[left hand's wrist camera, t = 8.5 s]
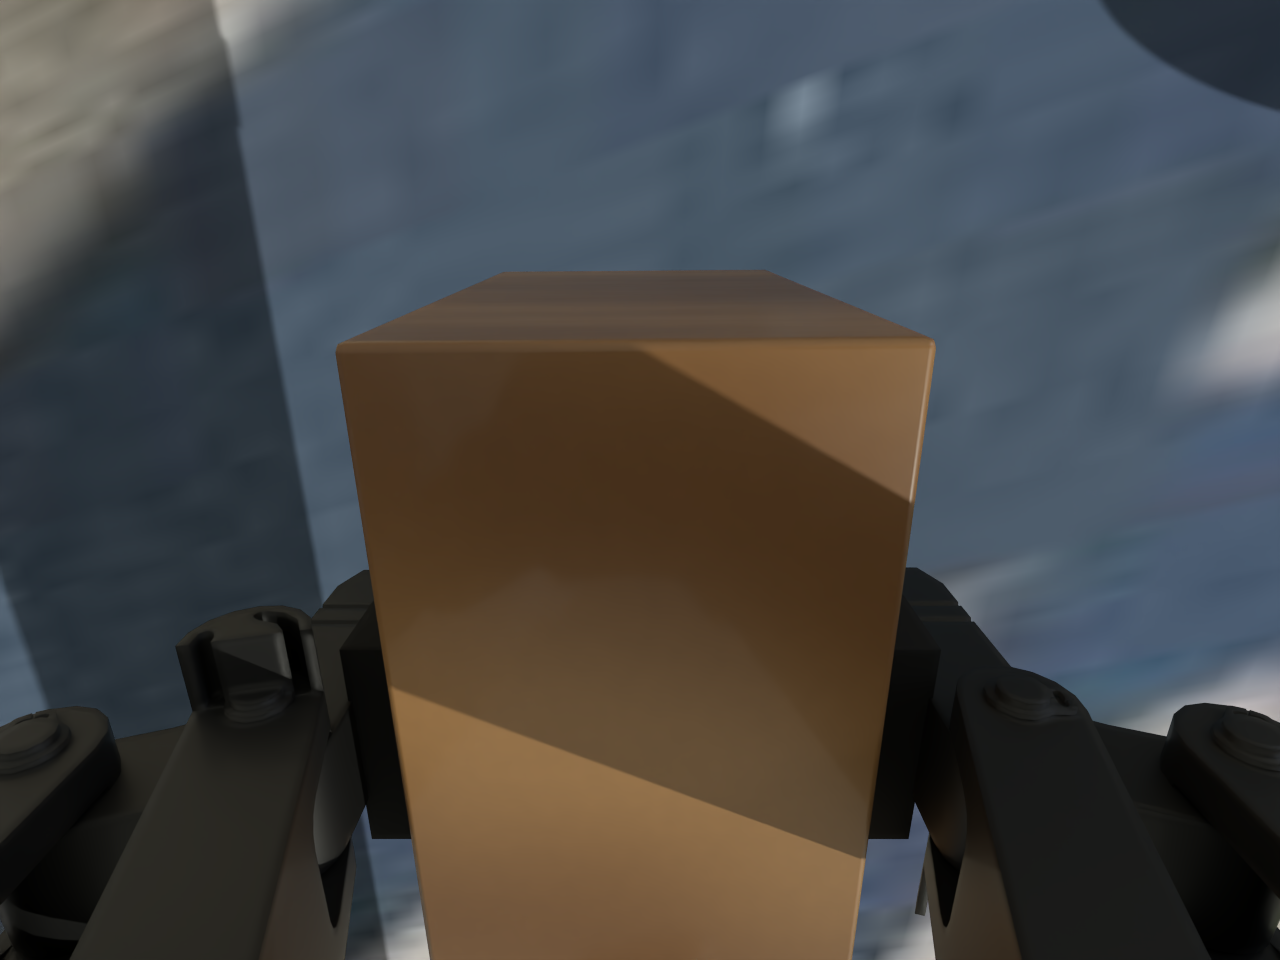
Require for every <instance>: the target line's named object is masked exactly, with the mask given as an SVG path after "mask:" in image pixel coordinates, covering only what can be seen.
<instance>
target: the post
mask: <svg viewBox="0 0 1280 960" xmlns="http://www.w3.org/2000/svg"><path fill="white" fill-rule="evenodd" d="M935 350H936V346H935V342H934V339H932V338H929V337H927V336H925V335H922V334H920V333H917V332H915V331H912V330H910V329H908V328H905V327H903V326H900V325H898V324H895V323H893V322H891V321H888V320H886V319H883V318H881V317H878V316H876V315H873V314H871V313H869V312H866V311H864V310H861V309H859V308H856V307H854V306H852V305H849V304H847V303H844V302H842V301H839V300H837V299H835V298H832V297H830V296H827V295H825V294H822V293H820V292H818V291H815V290H813V289H810V288H808V287H805V286H803V285H800V284H798V283H796V282H793V281H791V280H788V279H786V278H783V277H781V276H779V275H776V274H774V273H771V272H769V271H766V270H691V271H564V272H503V273H500V274H498V275H496V276H493V277H491V278H489V279H487V280H484V281H482V282H480V283H477V284H475V285H473V286H470V287H468V288H466V289H464V290H461V291H459V292H457V293H454V294H452V295H450V296H447V297H445V298H443V299H441V300H438V301H436V302H434V303H431V304H429V305H427V306H424V307H422V308H420V309H418V310H415V311H413V312H411V313H408V314H406V315H404V316H401V317H399V318H397V319H395V320H392V321H390V322H388V323H385V324H383V325H381V326H378V327H376V328H374V329H372V330H369V331H367V332H365V333H362V334H360V335H358V336H355V337H353V338H351V339H349V340H346V341H344V342H342V343H340V344H338V345H337V348H336V359H337V366H338V372H339V378H340V385H341V391H342V398H343V404H344V410H345V417H346V423H347V430H348V436H349V442H350V449H351V455H352V462H353V468H354V475H355V481H356V487H357V494H358V500H359V507H360V513H361V519H362V526H363V532H364V539H365V545H366V551H367V558H368V564H369V571H370V577H371V583H372V590H373V596H374V603H375V609H376V615H377V622H378V628H379V635H380V641H381V648H382V654H383V660H384V667H385V673H386V680H387V686H388V692H389V699H390V705H391V712H392V718H393V724H394V731H395V737H396V744H397V750H398V756H399V763H400V769H401V776H402V782H403V788H404V795H405V801H406V808H407V814H408V821H409V827H410V833H411V840H412V846H413V853H414V859H415V865H416V872H417V878H418V885H419V891H420V897H421V904H422V910H423V917H424V923H425V929H426V936H427V942H428V949H429V955H430V960H852V953H853V946H854V939H855V932H856V924H857V917H858V910H859V902H860V895H861V888H862V881H863V873H864V866H865V859H866V852H867V844H868V837H869V830H870V823H871V815H872V808H873V801H874V793H875V786H876V779H877V772H878V764H879V757H880V750H881V743H882V735H883V728H884V721H885V714H886V706H887V699H888V692H889V685H890V677H891V670H892V663H893V655H894V648H895V641H896V634H897V626H898V619H899V612H900V605H901V597H902V590H903V583H904V576H905V568H906V561H907V554H908V546H909V539H910V532H911V525H912V517H913V510H914V503H915V496H916V488H917V481H918V474H919V467H920V459H921V452H922V445H923V438H924V430H925V423H926V416H927V408H928V401H929V394H930V387H931V379H932V372H933V365H934V358H935Z"/></svg>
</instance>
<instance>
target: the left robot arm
mask: <svg viewBox="0 0 1280 960" xmlns="http://www.w3.org/2000/svg"><path fill="white" fill-rule="evenodd" d="M175 647H176V651H177V655H178V658H179V662H180V666H181V670H182V673H183V677H184V681H185V685H186V688H187V692H188V696H189V700H190V703H191V707H192V711H193V712H192V714H191V716H190V718H189V720H188V722H187V724H186V725H182V726H178V727H175V728H170V729H165V730H160V731H155V732H150V733H145V734H140V735H135V736H130V737H125V738H120V739H115V738H114V735H113V732H112V729H111V726H110V723H109V720H108V717H107V716H105V715H104V714H103V713H102V712H100V711H99V710H98V709H95V708H87V707H80V706H73V707H65V708H57V709H48V710H44V711H39V712H36V714H32V713H31V714H28V715H25V716H22V717H20V718H17V719H15V720H13V721H12V722H10V723H8V724H6V725H4V726H2V727H0V919H1V922H2V924H3V926H4V928H5V930H4V931H3V932H2V934H1V935H0V960H344V959H345V952H346V944H347V936H348V928H349V920H350V912H351V905H352V897H353V889H354V881H355V873H356V861H355V853H354V847H353V842H352V837H351V836H352V833H353V831H354V829H355V827H356V825H357V823H358V820H359V818H360V816H361V814H362V812H363V810H364V808H365V805H366V807H367V813H368V818H369V824H370V830H371V836H372V839H411V833H410V827H409V821H408V814H407V808H406V801H405V795H404V788H403V782H402V776H401V769H400V763H399V756H398V750H397V744H396V737H395V731H394V724H393V718H392V712H391V705H390V699H389V692H388V686H387V680H386V673H385V667H384V660H383V654H382V648H381V641H380V635H379V628H378V622H377V615H376V609H375V603H374V596H373V590H372V583H371V577H370V571H369V570H363V571H361V572H360V573H358V574H357V575H355V576H353V577H352V578H350V579H348V580H347V581H345V582H344V583H342V584H340V585H339V586H337V588H336V589H335V590H334V591H333V593H332V594H331V595H330V596H329V598H328V599H327V600H326V601H325V602H324V604H323V608H320V609H319V610H318V611H317V612H316V614H315V615H314V616H313V617H312V619H311V617H309V616H308V615H307V614H305V613H304V612H303V611H302V610H300V609H296V608H291V607H286V606H259V607H254V608H249V609H244V610H239V611H234V612H231V613H228V614H226V615H223V616H220V617H218V618H215V619H212V620H209V621H208V622H206V623H204V624H203V625H201V626H199V627H197V628H196V629H194V630H192V631H191V632H189V633H188V634H187V635H186V636H185V637H184V638H183V639H182V640H181V641H180V642H179V643H178V644H177V645H176V646H175ZM915 803H916V805H917V807H918V809H919V812H920V814H921V816H922V818H923V820H924V822H925V824H926V827H927V829H928V831H929V837H928V842H927V847H926V853H925V858H924V863H923V869H922V874H921V879H920V885H919V890H918V896H917V902H916V909H915V914H919V915H923V916H925V912H926V907H927V902H928V903H929V911H930V918H931V926H932V934H933V942H934V950H935V958H936V960H1280V930H1279V929H1278V927H1277V925H1278V923H1279V921H1280V723H1279V722H1277V721H1274V720H1272V719H1271V718H1269V717H1268V716H1266V715H1263V714H1260V713H1257V712H1254V711H1251V710H1250V711H1247V710H1246V709H1244V708H1240V707H1235V706H1227V705H1218V704H1210V703H1200V704H1193V705H1185V706H1184V707H1182V708H1181V709H1180V710H1178V711H1177V712H1176V713H1175V714H1174V715H1173V718H1172V722H1171V725H1170V728H1169V731H1168V734H1167V737H1166V736H1161V735H1156V734H1151V733H1146V732H1141V731H1136V730H1131V729H1126V728H1121V727H1116V726H1111V725H1107V724H1103V723H1099V722H1095V721H1092V719H1091V717H1090V715H1089V713H1088V711H1087V709H1086V708H1085V707H1084V706H1083V704H1082V703H1081V702H1080V701H1079V700H1078V698H1077V697H1076V696H1075V695H1074V694H1072V693H1071V692H1069V691H1068V690H1066V689H1065V688H1064V687H1062V686H1061V685H1059V684H1058V683H1056V682H1054V681H1052V680H1050V679H1047V678H1045V677H1043V676H1040V675H1038V674H1036V673H1033V672H1030V671H1026V670H1022V669H1017V668H1013V667H1011V666H1010V665H1009V664H1008V663H1007V661H1006V660H1005V659H1004V658H1003V656H1002V655H1001V654H1000V653H999V652H998V650H997V649H996V648H995V647H994V645H993V644H992V643H991V642H990V641H989V639H988V638H987V637H986V636H985V634H984V633H983V632H982V631H981V630H980V628H979V627H978V626H977V625H976V623H975V622H971V617H970V616H969V615H968V614H967V612H966V611H965V610H964V609H963V608H962V606H958V601H957V600H956V599H955V598H954V597H953V595H952V594H951V593H950V592H949V590H948V589H947V588H946V587H945V586H944V584H943V583H941V582H939V581H938V580H936V579H935V578H933V577H931V576H930V575H928V574H926V573H925V572H923V571H921V570H920V569H918V568H905V576H904V583H903V590H902V597H901V605H900V612H899V619H898V626H897V634H896V641H895V648H894V655H893V663H892V670H891V677H890V685H889V692H888V699H887V706H886V714H885V721H884V728H883V735H882V743H881V750H880V757H879V764H878V772H877V779H876V786H875V793H874V801H873V808H872V815H871V823H870V830H869V837H868V839H908V838H909V833H910V827H911V821H912V815H913V810H914V804H915Z"/></svg>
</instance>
